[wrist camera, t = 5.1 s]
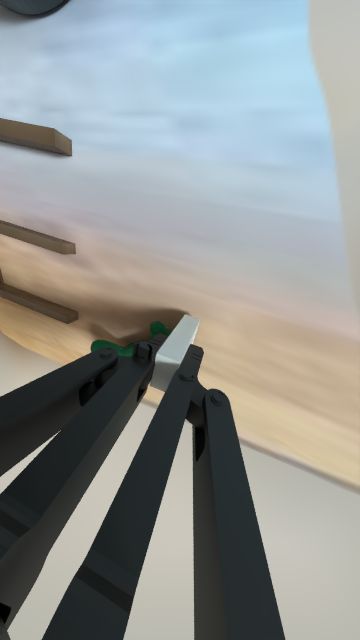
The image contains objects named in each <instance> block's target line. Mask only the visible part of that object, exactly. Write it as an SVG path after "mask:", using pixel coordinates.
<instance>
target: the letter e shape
mask: <svg viewBox="0 0 360 640" xmlns="http://www.w3.org/2000/svg"><path fill="white" fill-rule="evenodd" d="M0 140H2V141H6V142H11V143H15V144H20V145H25V146H29V147H34V148H38V149H43V150H47V151H52V152H56V153H61V154H65V155H70V156H72V143H71V140H70V139H69V138H67V137H66V136H64V135H63V134H61V133H60V132H58V131H57V130H55V129H53V128H48V127H43V126H38V125H33V124H28V123H22V122H17V121H12V120H7V119H2V118H0ZM0 234H3V235H6V236H9V237H12V238H15V239H18V240H21V241H24V242H27V243H30V244H33V245H36V246H39V247H42V248H45V249H48V250H51V251H54V252H57V253H60V254H75V244H74V243H71V242H68V241H65V240H61V239H58V238H55V237H52V236H49V235H46V234H43V233H39V232H36V231H33V230H30V229H27V228H24V227H20V226H17V225H14V224H11V223H8V222H5V221H2V220H0ZM0 297H3V298H5V299H8V300H10V301H12V302H15V303H17V304H20V305H22V306H25V307H27V308H30V309H32V310H34V311H37V312H39V313H42V314H44V315H47V316H49V317H52V318H54V319H56V320H59V321H61V322H64V323H66V324H69V323H71V322H73V321H75V320H78V312H75V311H73V310H70V309H68V308H65V307H63V306H60V305H57V304H55V303H52V302H50V301H47V300H45V299H42V298H40V297H37V296H34V295H32V294H29V293H27V292H24V291H22V290H19V289H17V288H14V287H12V286H9V285H6V284H4V283H3V279H2V275H1V270H0Z"/></svg>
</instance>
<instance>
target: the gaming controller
mask: <svg viewBox="0 0 360 640" xmlns="http://www.w3.org/2000/svg"><path fill="white" fill-rule="evenodd" d="M160 333H161V334H164V335H167V336H170V334H171V333H172V332H171V331H170V330H169V329H168V328H167V327H166V326H165V325H164V324H163V323H161V322H160V321H156V322H154V323H152V324H151V325H150V335H151V339H150V340H148V341H146V342H150V341H151V340H152V338H153V337H154V336H155V335H157V334H160ZM134 344H135V343H132V344H130V345H128V346H127V347H125V348H124V347H121V346H118V345H116V344H113V343H111V342H108V341H105V340H96V341H94V342H93V343H92V344H91V352H93V351H95V350H98V349H100V348H103V347H111V348H114V349H116V350H117V352H118V355H120V356H132V353H133V345H134Z"/></svg>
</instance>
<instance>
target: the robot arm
mask: <svg viewBox="0 0 360 640" xmlns="http://www.w3.org/2000/svg"><path fill="white" fill-rule="evenodd" d="M63 1H64V0H0V3H1V4H2V5H3V6H5V7H7V8H8V9H11V10H13V11H15V12H18V13H22V14H40V13H43V12H46V11H49V10H51V9H53V8H55V7H56V6H57V5H59V4H60V3H62V2H63ZM199 322H200V319H198V318H195V317H192V316H189V315H186V314H185V315H184V317H183V318H182V319H181V321H180V322H179V323H178V325H177V326H176V327H175V329H174V330H173V332H172V333H171V334H170V336H167V335H164V334H161V333H160V334H157V335H155V336H154V337H153V338H152V340H151V341H150V342H145V341H140V342H136V343H135V344H134V345H133V353H132V356H120V355H118V352H117V350H116V349H114V348H111V347H103V348H100V349H98V350H95V351H93V352H91V353H89V354H87V355H85V356H83V357H81V358H79V359H77V360H75V361H73V362H71V363H69V364H67V365H65V366H63V367H61V368H58V369H56V370H54V371H52V372H50V373H48V374H46V375H44V376H42V377H40V378H38V379H36V380H34V381H32V382H30V383H28V384H26V385H24V386H22V387H20V388H17V389H15V390H13V391H11V392H9V393H7V394H5V395H3V396H1V397H0V477H1V476H2V475H3V474H4V473H5V472H7V471H8V470H10V469H11V468H12V467H13V466H15V465H16V464H17V463H19V462H20V461H21V460H22V459H24V458H25V457H27V456H28V455H29V454H30V453H32V452H33V451H34V450H36V449H37V448H38V447H39V446H41V445H42V444H43V443H45V442H46V441H47V440H49V439H50V438H51V437H53V436H54V435H55V434H56V433H58V432H59V431H60V430H61V431H60V432H59V433H58V434H57V435H56V436H55V437H54V438H53V439H52V440H51V441H50V442H49V443H48V445H46V447H45V448H44V449H43V450H42V451H41V452H40V453H39V454H38V455H37V456H36V457H35V458H34V459H33V460H32V461H31V462H30V463H29V465H28V466H27V467H26V468H25V469H24V470H23V471H22V472H21V473H20V474H19V475H18V476H17V477H16V478H15V479H14V480H13V481H12V482H11V484H10V485H9V486H8V487H7V488H6V489H5V490H4V491H3V492H2V493H1V494H0V640H10V637H9V635H8V632H7V630H8V628H9V626H10V625H11V623H12V621H13V619H14V618H15V616H16V614H17V613H18V611H19V609H20V607H21V606H22V604H23V603H24V601H25V599H26V597H27V596H28V594H29V592H30V591H31V589H32V587H33V585H34V583H35V582H36V580H37V578H38V576H39V574H40V572H41V570H42V568H43V565H44V562H45V560H46V558H47V556H48V553H49V551H50V550H51V548H52V546H53V544H54V543H55V541H56V540H57V538H58V536H59V535H60V533H61V531H62V530H63V528H64V526H65V525H66V523H67V521H68V520H69V518H70V516H71V515H72V513H73V512H74V510H75V508H76V507H77V505H78V503H79V502H80V500H81V498H82V497H83V495H84V493H85V492H86V490H87V489H88V487H89V485H90V484H91V482H92V480H93V478H94V477H95V475H96V474H97V472H98V470H99V469H100V467H101V465H102V464H103V462H104V460H105V459H106V457H107V456H108V454H109V452H110V451H111V449H112V447H113V446H114V444H115V442H116V441H117V439H118V438H119V436H120V434H121V432H122V431H123V429H124V427H125V426H126V424H127V423H128V421H129V419H130V418H131V416H132V414H133V413H134V411H135V409H136V408H137V406H138V405H139V403H140V401H141V400H142V398H143V396H144V395H145V393H146V391H147V387H148V384H149V383H150V381H151V383H150V386H152V387H154V388H157V389H159V390H161V391H164V392H165V394H164V396H163V398H162V400H161V402H160V404H159V406H158V408H157V410H156V413H155V415H154V417H153V419H152V421H151V423H150V425H149V427H148V429H147V431H146V433H145V435H144V438H143V440H142V442H141V444H140V446H139V448H138V450H137V452H136V454H135V456H134V458H133V460H132V462H131V465H130V467H129V469H128V471H127V473H126V475H125V477H124V479H123V481H122V483H121V486H120V488H119V490H118V492H117V494H116V496H115V498H114V500H113V502H112V504H111V506H110V508H109V510H108V512H107V514H106V517H105V519H104V521H103V523H102V525H101V527H100V529H99V531H98V533H97V535H96V537H95V539H94V542H93V544H92V546H91V548H90V550H89V552H88V554H87V556H86V558H85V560H84V561H83V563H82V565H81V566H80V568H79V569H78V571H77V573H76V574H75V576H74V577H73V579H72V581H71V583H70V585H69V586H68V588H67V590H66V592H65V594H64V596H63V598H62V600H61V602H60V604H59V606H58V608H57V610H56V612H55V614H54V616H53V618H52V620H51V622H50V624H49V626H48V628H47V630H46V632H45V634H44V636H43V638H42V640H123V638H124V634H125V631H126V626H127V623H128V619H129V615H130V611H131V607H132V603H133V598H134V595H135V591H136V587H137V584H138V580H139V577H140V573H141V570H142V566H143V563H144V560H145V556H146V552H147V549H148V546H149V542H150V539H151V535H152V532H153V528H154V525H155V521H156V518H157V515H158V511H159V508H160V504H161V501H162V497H163V494H164V490H165V487H166V484H167V480H168V476H169V473H170V470H171V466H172V463H173V459H174V456H175V452H176V449H177V445H178V442H179V438H180V435H181V432H182V428H183V425H184V421H185V418H186V419H187V420H188V421H189V422H190V423H191V424H192V425H193V426H192V428H193V531H194V532H193V533H194V534H193V536H194V636H195V637H194V640H285V636H284V632H283V627H282V623H281V619H280V615H279V611H278V606H277V602H276V598H275V594H274V589H273V585H272V581H271V577H270V572H269V568H268V564H267V560H266V555H265V551H264V546H263V543H262V538H261V534H260V530H259V525H258V521H257V517H256V512H255V508H254V504H253V500H252V495H251V491H250V487H249V483H248V478H247V474H246V470H245V466H244V461H243V457H242V453H241V448H240V444H239V440H238V436H237V431H236V427H235V423H234V419H233V414H232V410H231V406H230V402H229V399H228V397H227V396H226V395H225V394H224V393H223V392H222V391H220V390H217V389H209V390H207V389H206V388H204V387H203V386H202V385H201V384H200V383H199V381H198V378H197V375H198V371H199V368H200V364H201V361H202V357H203V354H204V352H203V349H202V348H201V347H198V346H195V345H193V341H194V338H195V335H196V332H197V329H198V325H199Z"/></svg>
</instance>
